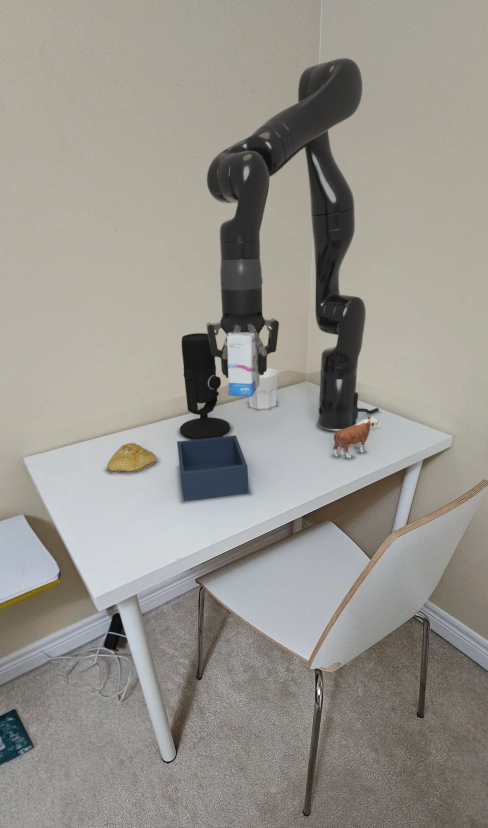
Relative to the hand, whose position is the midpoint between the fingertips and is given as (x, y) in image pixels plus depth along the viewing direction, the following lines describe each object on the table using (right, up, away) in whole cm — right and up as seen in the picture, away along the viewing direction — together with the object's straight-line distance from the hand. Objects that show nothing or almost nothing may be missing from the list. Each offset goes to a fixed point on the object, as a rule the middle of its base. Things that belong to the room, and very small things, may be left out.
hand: (244, 375), depth 95 cm
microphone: (-11, -7, +35) cm, 37 cm away
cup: (+5, +3, +50) cm, 51 cm away
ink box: (0, -3, +2) cm, 3 cm away
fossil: (-27, -17, +19) cm, 37 cm away
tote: (-7, -21, +11) cm, 24 cm away
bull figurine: (+26, -14, +20) cm, 36 cm away
